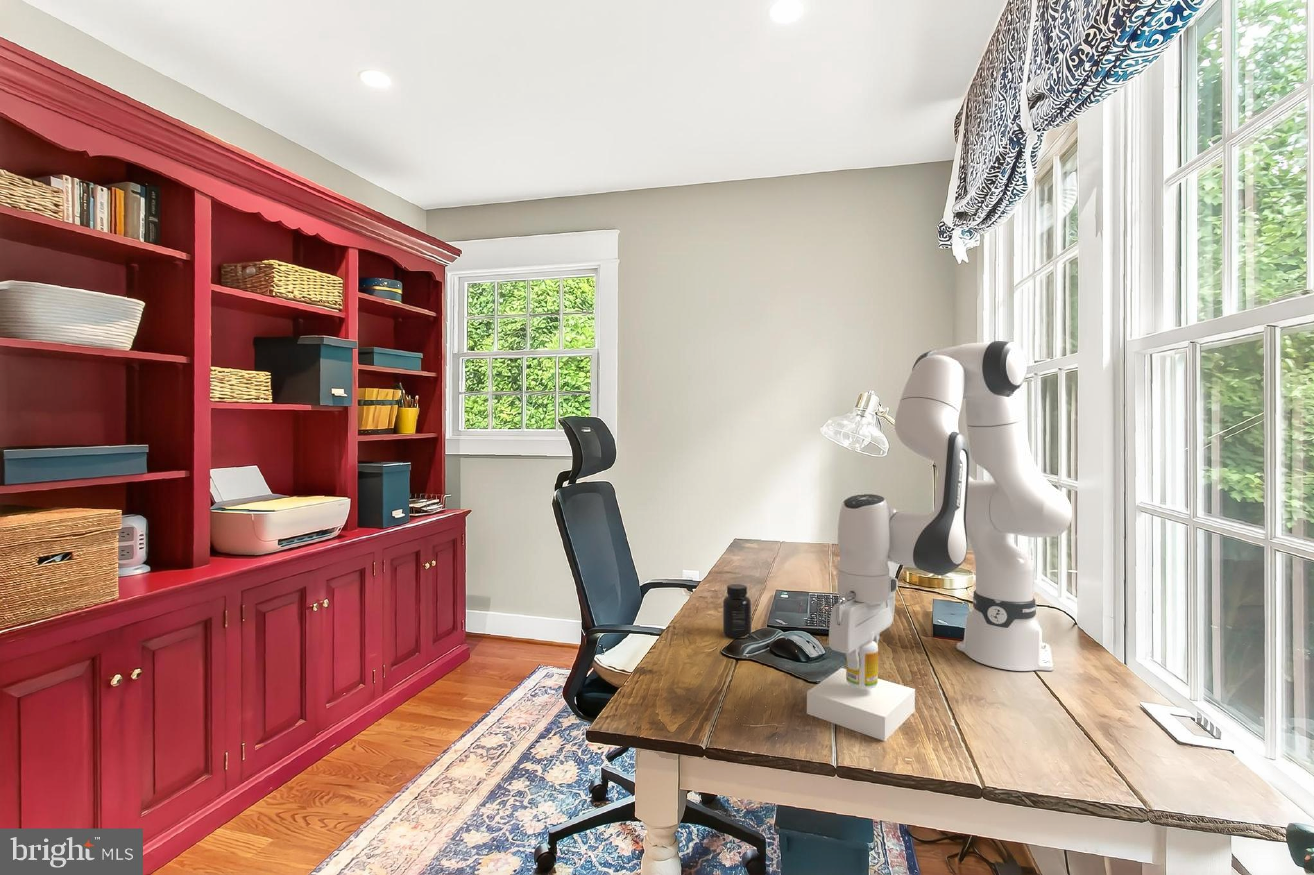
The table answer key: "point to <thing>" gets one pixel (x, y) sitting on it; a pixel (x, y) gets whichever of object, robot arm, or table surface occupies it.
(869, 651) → the supplement bottle
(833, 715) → the plinth
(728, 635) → the supplement bottle
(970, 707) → the table surface
